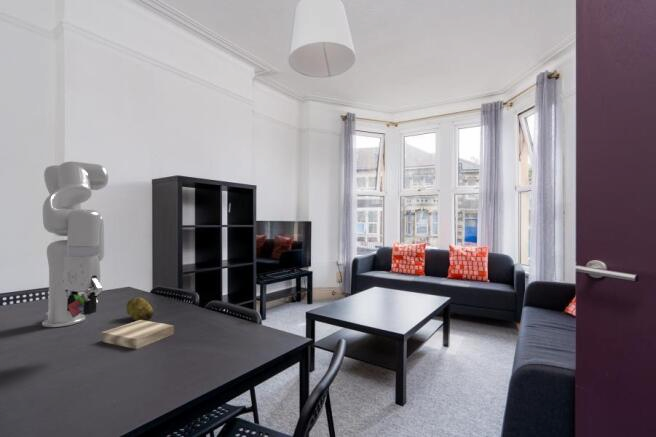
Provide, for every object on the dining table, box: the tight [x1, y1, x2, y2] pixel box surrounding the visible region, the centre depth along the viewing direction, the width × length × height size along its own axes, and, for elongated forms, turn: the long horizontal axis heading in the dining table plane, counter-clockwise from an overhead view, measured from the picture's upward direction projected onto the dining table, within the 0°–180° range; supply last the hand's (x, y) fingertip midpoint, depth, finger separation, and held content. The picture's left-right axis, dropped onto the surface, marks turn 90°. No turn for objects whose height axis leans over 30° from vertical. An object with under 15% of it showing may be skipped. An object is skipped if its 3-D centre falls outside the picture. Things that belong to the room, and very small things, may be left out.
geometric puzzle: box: [67, 292, 99, 318], centre depth 92 cm, size 7×7×8 cm
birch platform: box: [100, 320, 175, 350], centre depth 105 cm, size 16×14×3 cm
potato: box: [125, 297, 155, 321], centre depth 125 cm, size 8×13×8 cm, turn 41°
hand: (81, 311), depth 92 cm, fingers closed on geometric puzzle, 6 cm apart
